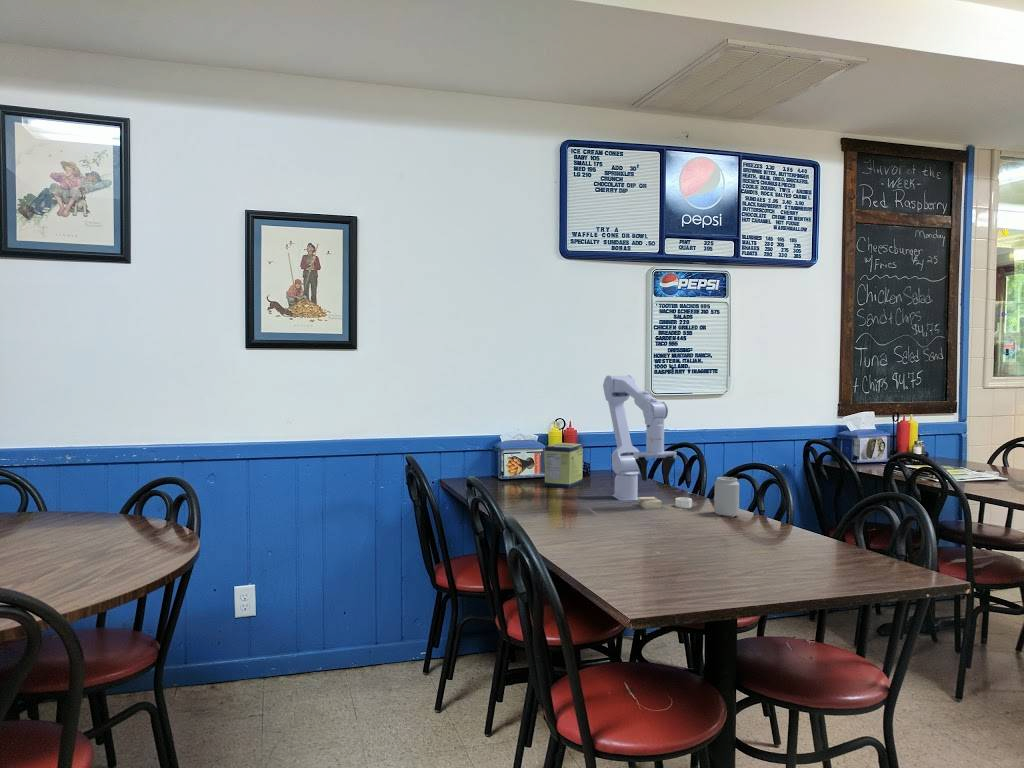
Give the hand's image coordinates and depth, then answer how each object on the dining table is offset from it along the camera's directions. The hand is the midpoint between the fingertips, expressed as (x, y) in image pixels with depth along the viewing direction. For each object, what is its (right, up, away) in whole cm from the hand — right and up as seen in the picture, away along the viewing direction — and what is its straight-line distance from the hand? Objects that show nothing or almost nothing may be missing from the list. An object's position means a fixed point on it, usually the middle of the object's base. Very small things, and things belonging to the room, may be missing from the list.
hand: (654, 479), depth 247 cm
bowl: (+10, -10, +2) cm, 14 cm away
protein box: (-27, -8, +47) cm, 55 cm away
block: (-1, -9, +1) cm, 9 cm away
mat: (-2, -10, +2) cm, 10 cm away
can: (+21, -10, -9) cm, 25 cm away
